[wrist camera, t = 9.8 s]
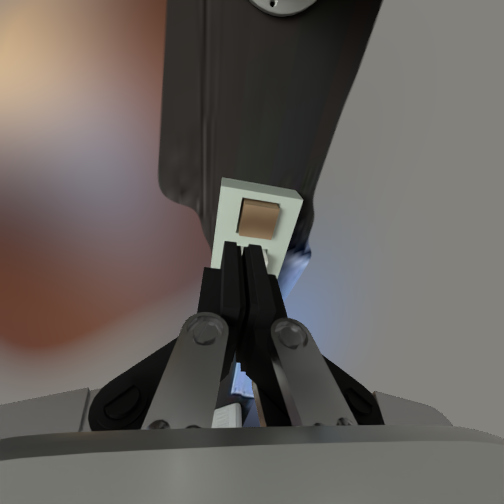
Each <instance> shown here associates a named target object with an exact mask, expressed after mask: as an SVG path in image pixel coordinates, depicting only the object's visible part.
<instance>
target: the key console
mask: <svg viewBox="0 0 504 504" xmlns="http://www.w3.org/2000/svg"><path fill="white" fill-rule="evenodd" d="M242 197H243V198H249V199H255V200H261V201H267V202H273V203H277V205H278V207H279V209H280V211H279V214H278V218H277V221H276V225H275V228H274V232H273V236H272V239H271V240H267V239H260V238H252V237H245V236H239V229H238V222H239V221H238V218H239V212H240V207H241V201H242ZM302 203H303V199H302V198H301V196H300V195H299V194H298V193H297V191H296V190H291V189H285V188H280V187H274V186H268V185H263V184H257V183H252V182H246V181H240V180H235V179H229V178H223V177H222V182H221V190H220V198H219V206H218V214H217V222H216V230H215V237H214V245H213V253H212V261H211V268H217V269H220V266H221V260H222V253H223V247H224V241H230V242H237V246H245V247H248V245H249V244H254V245H261V247H262V249H265V251H266V255H267V259H268V264H267V273H268V274H273V275H276V278H277V279H278V275H279V272H280V269H281V266H282V263H283V260H284V257H285V254H286V251H287V248H288V245H289V242H290V239H291V236H292V233H293V230H294V227H295V224H296V221H297V218H298V215H299V212H300V209H301V206H302Z"/></svg>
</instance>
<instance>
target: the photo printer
mask: <svg viewBox="0 0 504 504" xmlns="http://www.w3.org/2000/svg"><path fill="white" fill-rule="evenodd" d="M235 427H242V417H241V405H240V404H239V403H234V404H230V405H228V406H225V407H222V408H219V409H216V410H215V411H214V416H213V422H212V427H211V428H235Z"/></svg>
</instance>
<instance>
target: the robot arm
mask: <svg viewBox="0 0 504 504" xmlns="http://www.w3.org/2000/svg"><path fill="white" fill-rule="evenodd" d="M249 1H250V2H251V3H252V4H253V5H254V6H255V7H257V8H258V9H260V10H261V11H262V12H265V13H268V14H270V15H273V16H282V17H284V16H291V15H295V14H297V13H299V12H302V11H304V10H305V9H307V8H308V7H309V6H311V5H312V4H313V3H315V1H316V0H249ZM270 2H274V7H271V6H270ZM235 353H236V362H237V363H241V371H244V372H246V375H247V376H248V377H249V378H250V379H251V380H252V390H253V394H254V398H255V403H256V407H257V412H258V416H259V421H260V425H261V427H235V428H211V427H212V422H213V416H214V411H215V405H216V400H217V394H218V389H219V383H220V382H221V381H222V380H223V379H224V378H225V377H226V376H227V375H228V374H229V370H230V366H231V362H232V361H233V358H234V354H235ZM0 504H504V439H503V438H501V437H498V436H495V435H492V434H489V433H486V432H482V431H479V430H475V429H469V428H463V427H455V426H453V425H452V424H451V422H450V421H449V420H448V419H447V418H446V417H445V416H444V415H443V414H442V413H440V412H439V411H438V410H436V409H435V408H433V407H431V406H428V405H425V404H422V403H418V402H414V401H410V400H406V399H403V398H399V397H396V396H392V395H388V394H384V393H381V392H377V391H374V392H373V393H370V392H369V391H368V390H367V389H366V388H365V387H364V386H363V385H361V384H360V383H359V382H357V381H356V380H355V379H353V378H352V377H351V376H349V375H348V374H347V373H346V372H344V371H343V370H342V369H340V368H339V367H338V366H336V365H335V364H334V363H332V362H331V361H329V360H328V359H327V358H326V357H324V356H323V355H322V354H321V353H320V351H319V349H318V347H317V345H316V343H315V341H314V339H313V337H312V335H311V333H310V332H309V330H308V329H307V328H306V327H305V326H304V325H303V324H302V323H300V322H299V321H297V320H294V319H291V318H288V317H287V313H286V310H285V306H284V303H283V299H282V295H281V292H280V288H279V285H278V281H277V278H276V275H273V274H268V273H267V268H266V264H265V260H264V255H263V251H262V247H261V245H254V244H249V245H248V247H245V246H244V248H243V253H241V246H237V242H230V241H224V247H223V253H222V260H221V266H220V269H217V268H207V267H204V272H203V279H202V285H201V292H200V299H199V305H198V311H197V314H194V315H192V316H190V317H189V318H188V319H187V320H186V322H185V323H184V324H183V326H182V329H181V331H180V334H179V336H178V337H177V338H176V339H174V340H173V341H171V342H170V343H168V344H167V345H165V346H164V347H162V348H161V349H159V350H157V351H156V352H155V353H153V354H151V355H150V356H148V357H147V358H145V359H144V360H142V361H141V362H139V363H138V364H136V365H135V366H133V367H132V368H130V369H129V370H127V371H126V372H124V373H123V374H121V375H119V376H118V377H116V378H115V379H113V380H112V381H110V382H109V383H108V384H107V385H105V386H104V387H103V388H101V389H96V390H91V391H90V390H89V388H84V389H79V390H74V391H69V392H63V393H59V394H53V395H49V396H44V397H39V398H34V399H28V400H23V401H18V402H13V403H8V404H4V405H0Z"/></svg>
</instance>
